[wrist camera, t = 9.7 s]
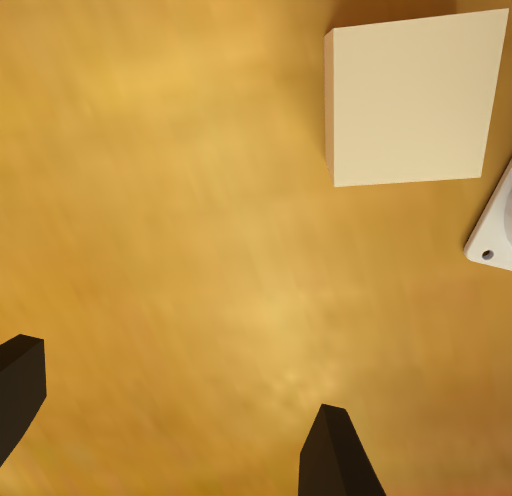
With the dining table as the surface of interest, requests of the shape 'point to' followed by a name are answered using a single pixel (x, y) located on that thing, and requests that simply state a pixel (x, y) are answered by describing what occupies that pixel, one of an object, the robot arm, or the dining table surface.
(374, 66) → the cream block
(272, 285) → the dining table surface
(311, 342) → the dining table surface
